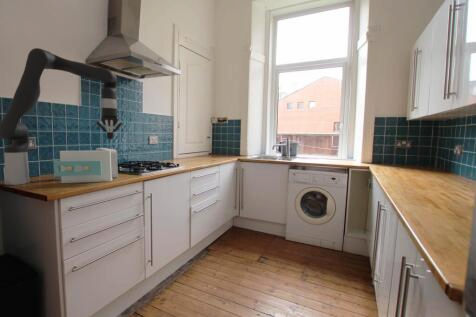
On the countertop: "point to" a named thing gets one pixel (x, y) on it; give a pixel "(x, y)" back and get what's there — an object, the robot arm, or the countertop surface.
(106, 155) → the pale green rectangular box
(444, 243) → the countertop surface
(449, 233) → the countertop surface
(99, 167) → the panel
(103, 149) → the rounded white slab
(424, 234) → the countertop surface
